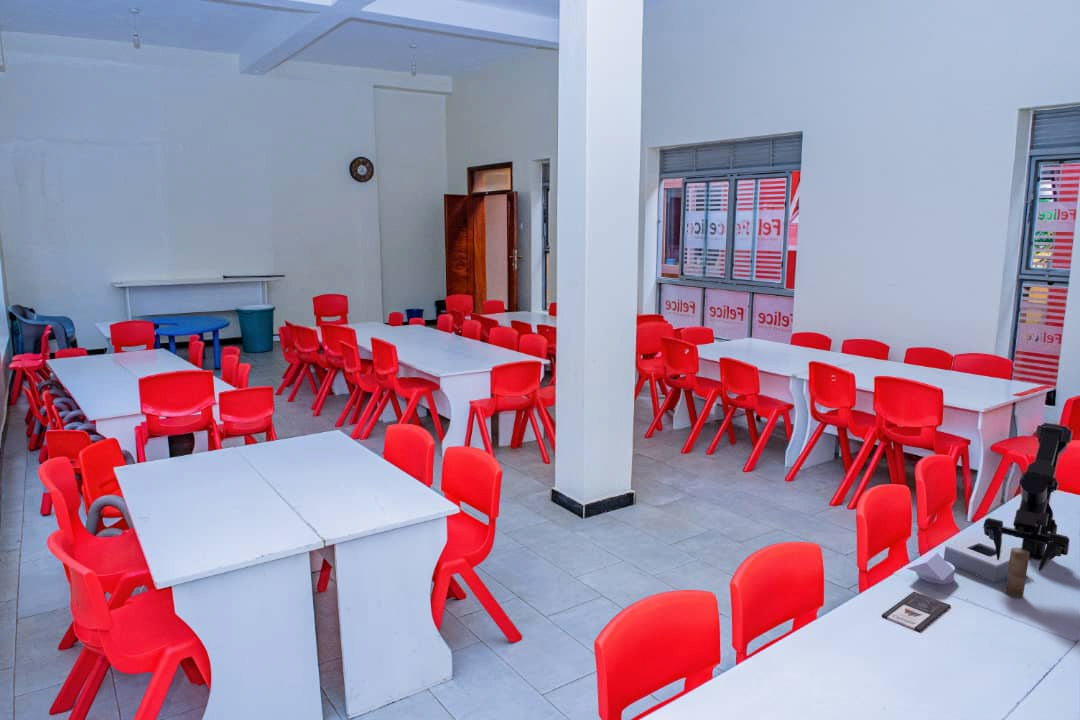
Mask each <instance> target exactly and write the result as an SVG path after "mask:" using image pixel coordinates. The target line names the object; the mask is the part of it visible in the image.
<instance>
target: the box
mask: <svg viewBox="0 0 1080 720" xmlns="http://www.w3.org/2000/svg"><path fill="white" fill-rule="evenodd" d="M1011 549H1012V548H1009V547H1005V546H1003V545H1001V553H1000V558H999V560H997V555H996V547H995V544H994V541H993V542H992V541H989V540H988V539H984V538H981V537H978V536H976V535H971V536H969V537H964V538H962V539H960V540H956V541H955V542H952V543H949V544H946V545H945V549H944V553H943V559H944V560H945V561H947V562H949V563H951V564H952V565H953V566H954V567H955V569H959V570H961V571H963V570H964V571H963V572H966V573H968V572H969V573H968V574H971V575H973V574H974V575H973V576H976V575H977V576H976V577H978V578H980V577H981V578H980V579H984V580H986V581H988V582H991V583H993V584H996V583H998V582H1000V581H1002V580H1005V579H1007V574H1008V567H1009V561H1010V554H1011ZM1004 578H1005V579H1004Z"/></svg>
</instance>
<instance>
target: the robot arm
mask: <svg viewBox="0 0 1080 720" xmlns="http://www.w3.org/2000/svg"><path fill="white" fill-rule="evenodd" d="M1073 431H1074V430H1070V428H1069V426H1067V425H1063V424H1062V425H1061V424H1055V423H1050V422H1049V423H1048V422H1043V424H1041V425H1038V424H1037V427H1036V432H1035V438H1037V441H1038V447H1037V448H1038V449H1037V453H1036V456H1035V460H1034V461H1033V462H1031V463H1029V464H1028V465H1027V468H1026V470H1025V471H1023V473H1022V474H1021V476H1020V479H1019V486H1020V496H1021V500H1020V504H1019V507H1018V509H1016V513H1015V517H1014V519H1013V524H1012V525H1013V528H1012V527H1009V526H1004V521H1003V520H999V519H995V518H990V517H986V519H985V520H984V522H983V532H984V533H983V534H984V535H985V536H987V537H988V538H989V539H990V540H991V541H993V543H994V544H995V547H996V555H997V560H999V558H1000V553H1001V546H1003V545H1002V543H1003V535H1007V536H1009V537H1015V538H1019V539H1021V540H1022V543H1021V549H1024V550H1027V551H1028V552H1029V553H1030V554H1029V558H1030V559H1033V560H1036V561H1040V562H1039V565H1038V572H1041V571H1043V569H1044V568H1045V567H1046V566H1047V565H1048V564H1049V563H1050V561H1052V560H1054V558H1055V557H1061V556H1063V555H1064V556H1068V554H1069V550H1070V538H1069V537H1068V536H1067V535H1062V534H1059V533H1057V531H1058V525H1057V522H1056V520H1055V519H1054V512H1053V509H1052V507H1051V505H1050V502H1051V497H1052V496H1051V495H1052V493H1054V492H1055V491H1057V490H1058V488H1059V484H1060V483H1059V481H1058V478H1057V477H1056V471H1057V467H1058V461H1059V457H1060V456H1061V455H1062V454H1063V453H1064V452H1065V451H1066V450H1067V449H1068V445H1069V444H1071V443H1072V438H1073V433H1074V432H1073Z"/></svg>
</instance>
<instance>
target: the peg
mask: <svg viewBox="0 0 1080 720" xmlns="http://www.w3.org/2000/svg"><path fill="white" fill-rule="evenodd" d="M1021 548H1022V547H1021ZM1021 548H1020V547H1012V548H1010V549H1011V554H1010V561H1009V567H1008V574H1007V578H1006V582H1005V587H1004V589H1005V590H1004V594H1005V595H1006V596H1008V597H1010V598H1012V599H1023V598H1024V591H1025V586H1026V585H1025V584H1026V578H1027V572H1028V567H1029V566H1028V565H1029V558H1030V557H1029V554H1030V553H1029V552H1028V551H1027V550H1024V549H1021Z"/></svg>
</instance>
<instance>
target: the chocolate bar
mask: <svg viewBox="0 0 1080 720" xmlns="http://www.w3.org/2000/svg"><path fill="white" fill-rule="evenodd" d="M951 606H952V605H951V604H949V603H946V602H943V601H941V600H937V599H935V598H933V597H930V596H927V595H924V594H921V593H919V592H916V591H912V592H911V593H910V594H908V595H907V596H906V597H904V598H902V599H901V600H900V601H899V602H897V603H896V604H894V605H893V606H891V608H889V609H888V610H886V611H885V612H883V613H882V614H881V617H882V618H884V619H886V620H889V621H891V620H892V621H891V622H894V623H896V622H897V623H896V624H900V625H901V626H904V627H906V626H907V628H908V627H909V629H912V630H913V629H914V631H916V632H919V633H921V632H922V631H923V630H924V629H926V628H927V627H928V626H929V625H930V624H931V622H932V623H933V622H934V621H936V620H937V619H938V618H939V617H940V616H942V613H943V612H944V613H945V612H947V611H948V610H949V609H951ZM948 608H949V609H948ZM947 609H948V610H947ZM944 613H943V614H944ZM938 616H939V617H938ZM936 618H937V619H936Z"/></svg>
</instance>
